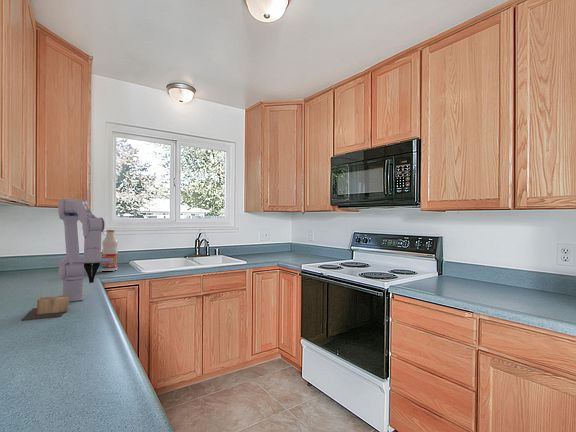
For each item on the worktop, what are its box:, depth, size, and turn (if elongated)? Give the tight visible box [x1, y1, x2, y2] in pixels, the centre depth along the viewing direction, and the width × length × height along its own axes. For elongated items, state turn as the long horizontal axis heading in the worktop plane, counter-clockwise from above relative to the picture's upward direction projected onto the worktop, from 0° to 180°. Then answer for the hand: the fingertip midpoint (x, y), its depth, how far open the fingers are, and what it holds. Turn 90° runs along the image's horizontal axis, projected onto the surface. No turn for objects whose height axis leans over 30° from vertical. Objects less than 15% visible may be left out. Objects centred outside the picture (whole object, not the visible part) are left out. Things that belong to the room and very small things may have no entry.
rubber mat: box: [21, 307, 64, 322], centre depth 117 cm, size 16×11×1 cm
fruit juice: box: [100, 229, 119, 272], centre depth 213 cm, size 9×9×28 cm
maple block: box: [36, 295, 70, 314], centre depth 118 cm, size 5×5×9 cm
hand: (91, 282), depth 124 cm, fingers closed
